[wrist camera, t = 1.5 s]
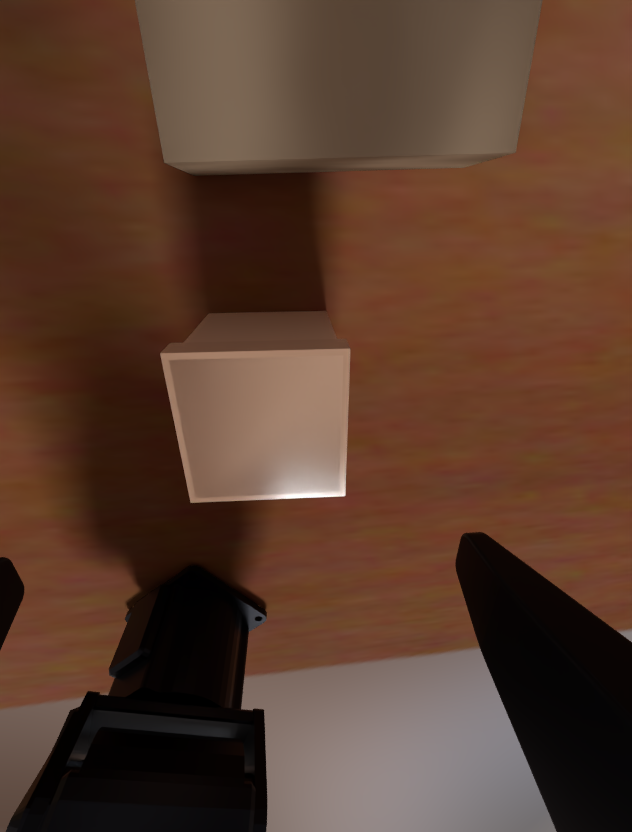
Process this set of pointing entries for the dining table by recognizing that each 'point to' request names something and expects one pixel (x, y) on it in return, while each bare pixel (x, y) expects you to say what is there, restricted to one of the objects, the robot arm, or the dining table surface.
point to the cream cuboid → (261, 406)
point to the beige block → (336, 82)
